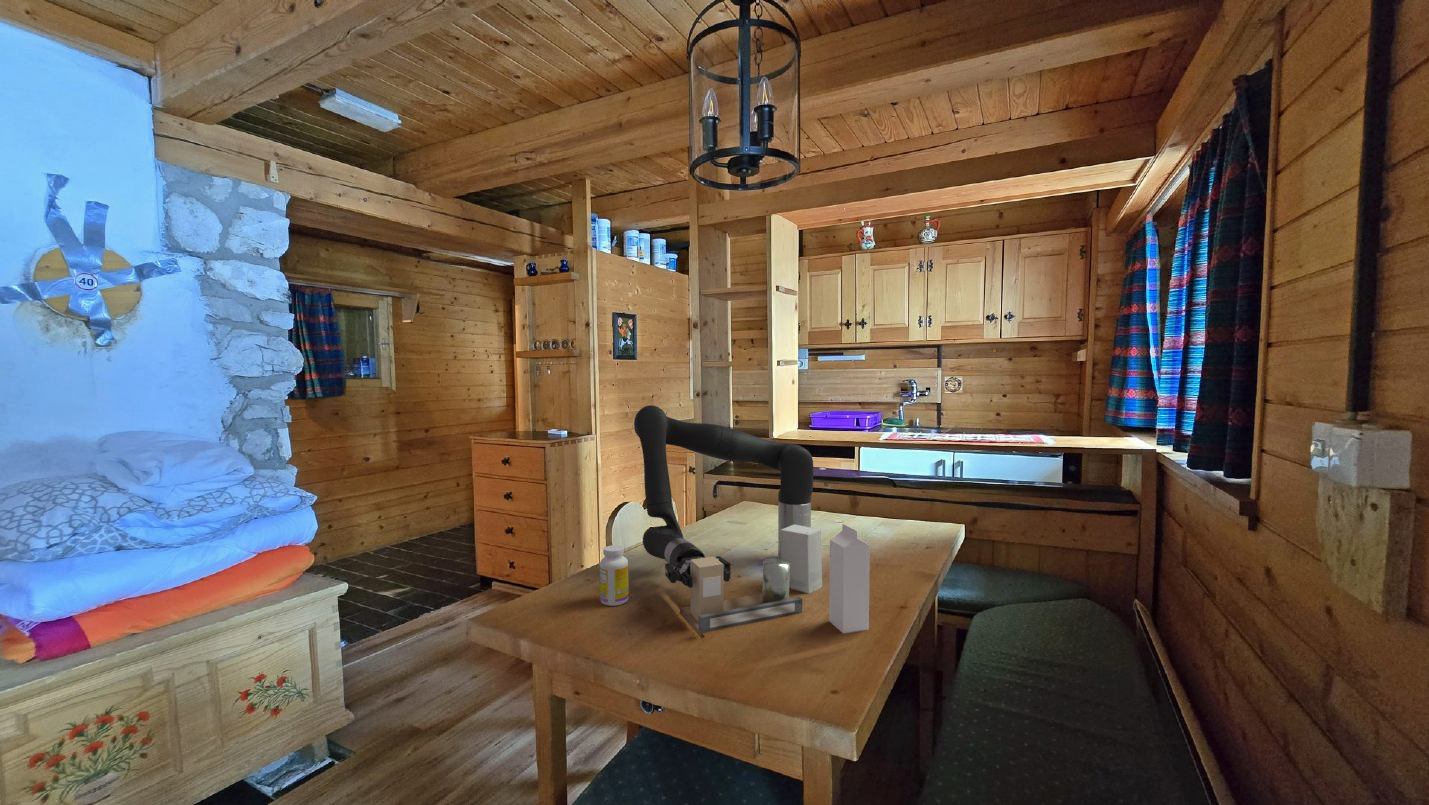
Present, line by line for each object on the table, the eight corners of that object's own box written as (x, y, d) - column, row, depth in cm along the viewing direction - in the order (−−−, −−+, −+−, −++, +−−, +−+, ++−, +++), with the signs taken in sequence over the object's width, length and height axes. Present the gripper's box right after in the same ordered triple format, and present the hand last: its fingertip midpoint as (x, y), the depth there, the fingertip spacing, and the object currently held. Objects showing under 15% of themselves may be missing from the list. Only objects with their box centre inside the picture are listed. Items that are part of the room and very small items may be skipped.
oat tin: (777, 599, 133) (778, 557, 132) (794, 608, 128) (795, 564, 127) (756, 604, 130) (757, 560, 129) (772, 613, 125) (774, 568, 124)
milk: (843, 639, 116) (843, 532, 114) (828, 626, 121) (829, 524, 120) (869, 635, 117) (870, 529, 116) (854, 622, 123) (854, 522, 122)
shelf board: (773, 596, 138) (773, 579, 137) (802, 618, 126) (802, 599, 125) (679, 613, 128) (679, 594, 128) (701, 638, 116) (701, 618, 116)
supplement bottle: (631, 596, 138) (631, 544, 137) (624, 607, 132) (624, 552, 131) (604, 595, 139) (604, 543, 138) (596, 606, 132) (595, 552, 132)
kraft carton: (713, 609, 127) (713, 556, 127) (723, 619, 122) (723, 564, 122) (690, 613, 125) (690, 559, 125) (699, 623, 120) (699, 567, 120)
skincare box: (822, 591, 141) (823, 529, 140) (807, 599, 136) (808, 534, 135) (794, 582, 146) (795, 523, 146) (779, 590, 142) (779, 528, 141)
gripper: (655, 545, 134) (678, 567, 119) (711, 538, 140) (739, 558, 125) (655, 577, 134) (678, 602, 119) (711, 568, 140) (740, 592, 125)
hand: (709, 580), depth 122 cm, fingers open, 8 cm apart
